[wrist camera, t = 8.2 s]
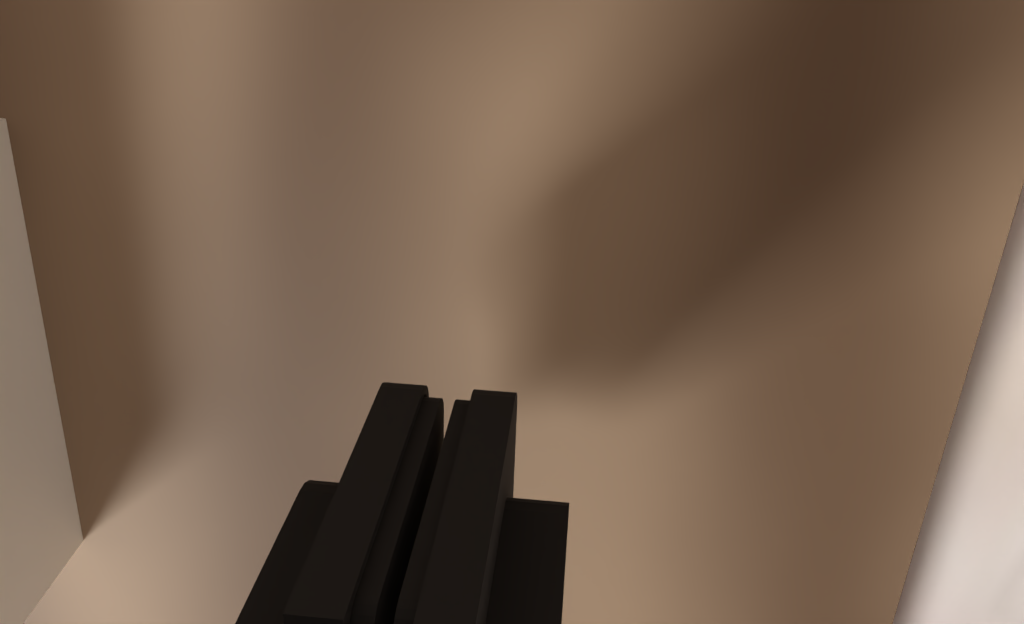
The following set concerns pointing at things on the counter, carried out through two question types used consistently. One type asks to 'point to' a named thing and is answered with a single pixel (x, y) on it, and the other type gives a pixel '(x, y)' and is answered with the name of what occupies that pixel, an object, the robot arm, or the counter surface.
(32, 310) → the cream bevelled block
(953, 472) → the counter surface
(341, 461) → the board
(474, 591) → the robot arm
